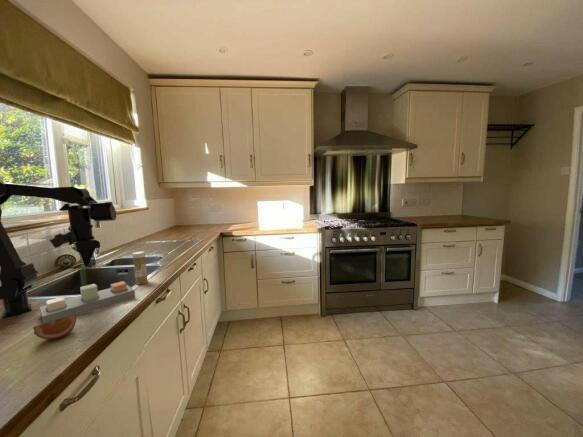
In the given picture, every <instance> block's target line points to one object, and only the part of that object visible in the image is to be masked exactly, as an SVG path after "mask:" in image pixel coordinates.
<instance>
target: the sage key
mask: <svg viewBox="0 0 583 437" xmlns="http://www.w3.org/2000/svg"><path fill="white" fill-rule="evenodd" d="M79 289H80V296H81V298H82V301H83V302H85V301H88V300H92V299H96V298H99V296H98V291H99V290H98V285H97V284H95V283H92V284H87V285H83V286H80V287H79Z"/></svg>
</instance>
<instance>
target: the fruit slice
mask: <svg viewBox="0 0 583 437" xmlns="http://www.w3.org/2000/svg"><path fill="white" fill-rule="evenodd" d="M76 323H77V316H76V315H75V314H74V315H70V316H67V317H65V318H60V319H57V320H55V321H54V322H50V323H45V324H43V323H42V324H39V325H34V326H33V327H32V329H33V331H34V332H33V334H34V335H36V337H37V338H39V339H44V340H57V339H61V338H64V337H65V336H68V334H70V333H71V332H72V331H73V330H74V328H75V326H76Z"/></svg>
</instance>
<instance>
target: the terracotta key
mask: <svg viewBox="0 0 583 437" xmlns="http://www.w3.org/2000/svg"><path fill="white" fill-rule="evenodd" d="M127 285H128V284H127V282H125V281H124V280H122V281H121V280H120V281H119V282H118V281H117V282H114V283H110V288H111V292H112V293H117V292H120V291H124V290H127Z"/></svg>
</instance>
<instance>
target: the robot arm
mask: <svg viewBox="0 0 583 437" xmlns="http://www.w3.org/2000/svg"><path fill="white" fill-rule="evenodd" d="M12 196H20V197H31V198H41V199H42V198H43V199H44V198H45V199H51V200H56V201H59V202H62V203H64V204H63V205H62V207H60V208H59V211H61V212H62V211H63V212H65V211H66V212H67V213H68V214H67V215H68V221H69V226H68V228H67V229H68V230H67V231H66V230H65V231H64V232H60V233H57V234H54V235H53V236H51V237H49V238H48V241H49V242H50V244H51V245H52V246H53V247H54V249H56V248H59V247H61V246H63V245H65V244H68V245H69V246H72V245H74V246H72V247H71V249H72V250H73V251H75V252H77V253H78V255H79V257H80V259H81V262H82V263H83V266H84V267H88V266H89V265H90V263H91V261H92V257H93V255H94V252H95V251H96V249H99V248H101V243H100V241H99V240H97V239H95V236H94V235H93V228H94V227H93V224H92V222H91V221H92V220H93V221H94V222H97V223H98V222H114V221H116V220H117V210H116V209H115V206H114V203H113V201H107V202H97V201H96V200H95V198H93V197H92V196H91V194H90V191H89V190H88V189H86V188H85V187H82V186H56V187H55V186H54V187H51V186H41V185H40V186H39V185H31V184H19V183H13V182H8V181H7V182H6V181H0V284H1V285H0V300H1V301H2V307H3V310H2V318H8V317H12V316H14V315H19V314H22V313H26V312H30V311H32V309H33V308H32V304H31V303H30V301H29V297H28V296H29V294H28V290H30V289H32V287H33V284H34V283H35V282H36V281H37V279H38V275H37V274H39V272H38V271H37V270H36V269H35V265H34V262H31V263H26V262H24V261H23V260H22V259H21V257H20V255H19V252H17V249H16V248H15V246H14V244H13V243H12V240H11V238H10V236H9V234H8V233H7V230H6V229H5V227H4V225H3V223H2V216H3V211H2V208H1V206H2V205H4V204H5V203H6V202H8V200H9V199H10V198H11V197H12ZM72 204H73V205H72Z"/></svg>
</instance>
